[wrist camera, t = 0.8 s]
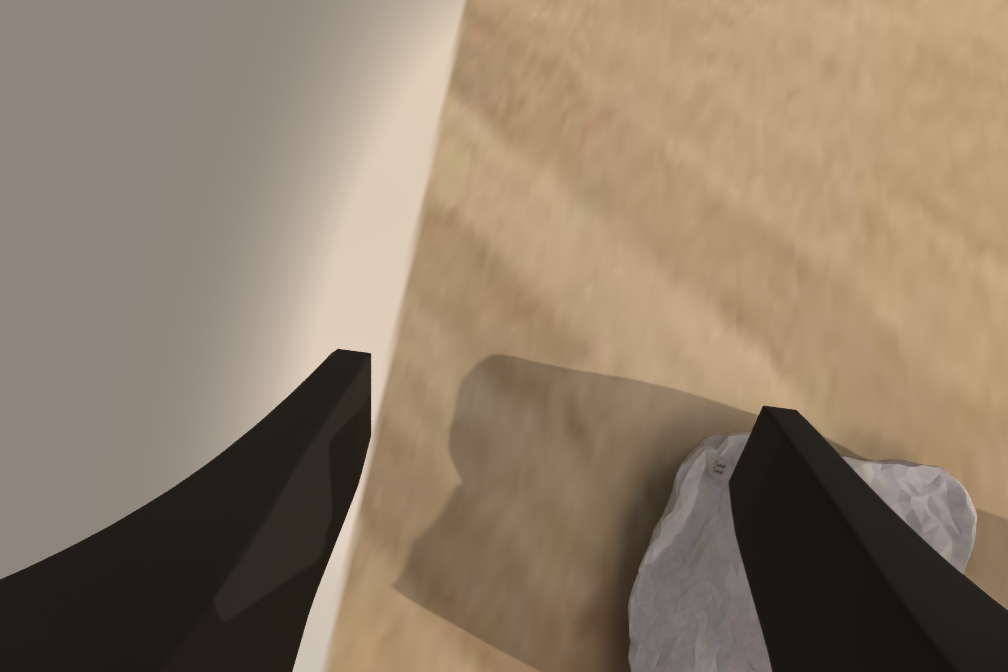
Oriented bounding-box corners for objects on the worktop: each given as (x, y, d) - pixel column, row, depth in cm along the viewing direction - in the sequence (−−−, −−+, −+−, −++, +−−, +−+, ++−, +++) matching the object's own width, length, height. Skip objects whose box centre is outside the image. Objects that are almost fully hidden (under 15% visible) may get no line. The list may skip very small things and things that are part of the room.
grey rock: (624, 720, 26) (921, 836, 22) (592, 752, 22) (953, 904, 18) (680, 423, 28) (957, 475, 24) (661, 401, 24) (993, 459, 20)
